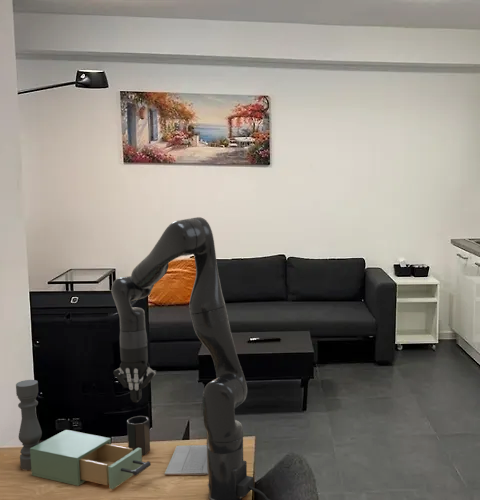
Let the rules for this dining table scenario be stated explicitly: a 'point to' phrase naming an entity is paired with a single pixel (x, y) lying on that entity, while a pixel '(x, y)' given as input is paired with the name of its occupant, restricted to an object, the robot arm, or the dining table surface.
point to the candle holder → (28, 420)
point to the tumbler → (139, 433)
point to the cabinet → (64, 455)
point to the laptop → (189, 460)
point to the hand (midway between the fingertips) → (136, 401)
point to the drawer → (112, 465)
